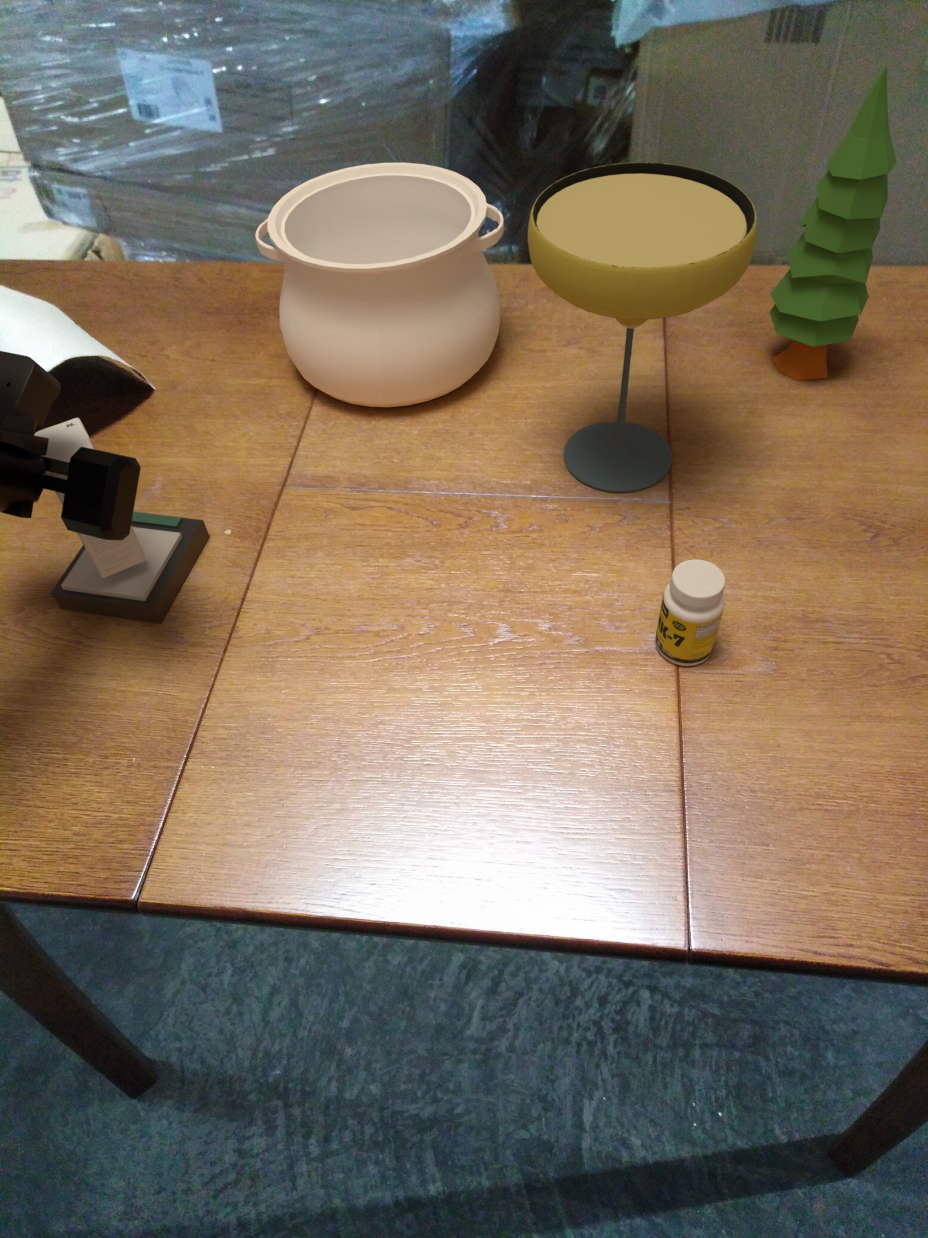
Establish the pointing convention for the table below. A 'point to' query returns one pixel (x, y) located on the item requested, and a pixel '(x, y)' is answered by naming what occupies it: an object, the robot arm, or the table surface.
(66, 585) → the kitchen scale
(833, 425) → the table surface
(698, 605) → the supplement bottle
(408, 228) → the pot
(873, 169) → the decorative tree
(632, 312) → the cocktail glass
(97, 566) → the cosmetic box
